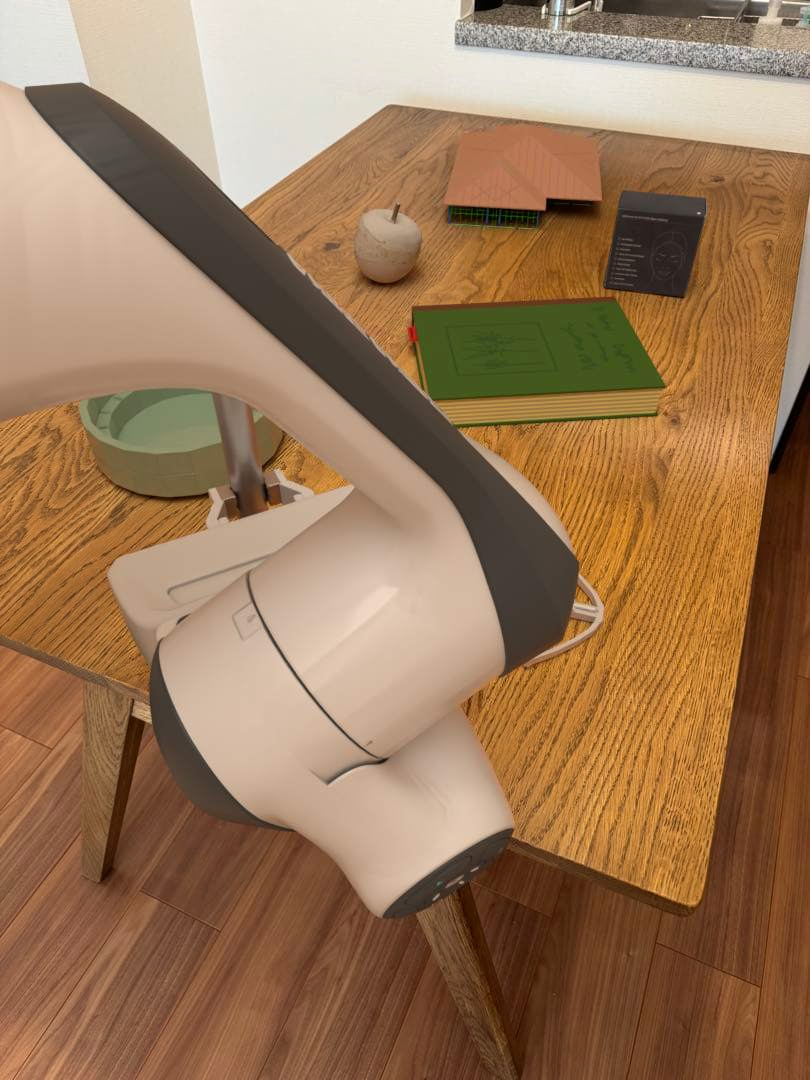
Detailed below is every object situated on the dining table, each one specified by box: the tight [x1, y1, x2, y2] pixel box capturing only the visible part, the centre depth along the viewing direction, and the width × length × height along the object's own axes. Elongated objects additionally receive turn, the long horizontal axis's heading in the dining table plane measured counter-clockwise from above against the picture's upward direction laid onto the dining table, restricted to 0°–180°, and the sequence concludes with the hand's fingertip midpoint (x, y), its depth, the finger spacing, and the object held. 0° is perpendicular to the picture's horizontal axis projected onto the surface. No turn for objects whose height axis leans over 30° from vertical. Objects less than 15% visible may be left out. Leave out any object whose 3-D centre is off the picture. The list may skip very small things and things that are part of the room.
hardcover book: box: [406, 296, 667, 429], centre depth 87 cm, size 25×19×4 cm
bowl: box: [77, 388, 284, 498], centre depth 77 cm, size 19×19×6 cm
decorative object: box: [353, 201, 423, 284], centre depth 100 cm, size 9×9×10 cm
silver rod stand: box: [211, 391, 270, 520], centre depth 53 cm, size 7×7×22 cm
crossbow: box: [522, 573, 605, 668], centre depth 64 cm, size 16×13×2 cm
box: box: [602, 189, 708, 298], centre depth 99 cm, size 11×7×10 cm, turn 74°
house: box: [442, 123, 603, 230], centre depth 123 cm, size 23×33×8 cm
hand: (244, 485), depth 53 cm, fingers closed on silver rod stand, 2 cm apart
